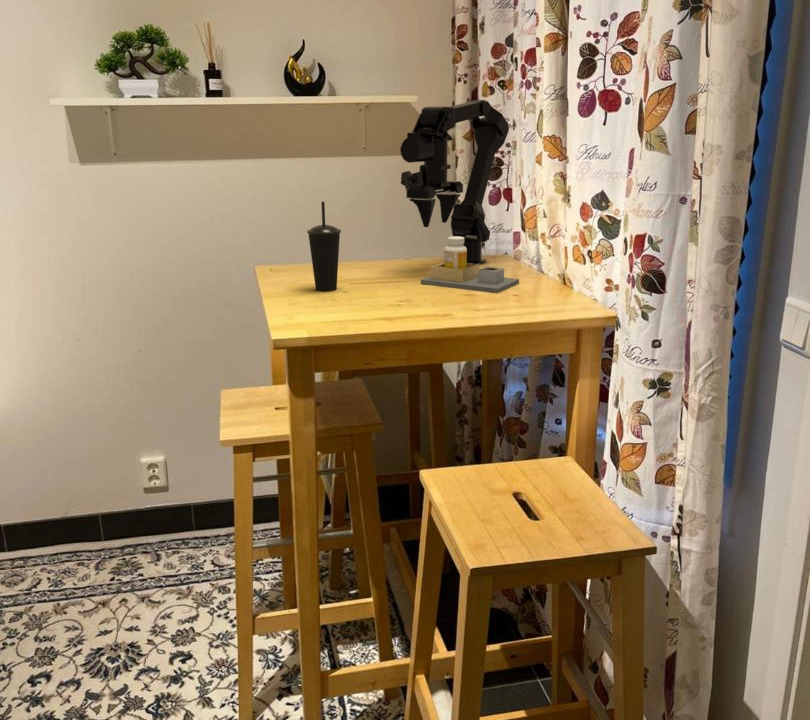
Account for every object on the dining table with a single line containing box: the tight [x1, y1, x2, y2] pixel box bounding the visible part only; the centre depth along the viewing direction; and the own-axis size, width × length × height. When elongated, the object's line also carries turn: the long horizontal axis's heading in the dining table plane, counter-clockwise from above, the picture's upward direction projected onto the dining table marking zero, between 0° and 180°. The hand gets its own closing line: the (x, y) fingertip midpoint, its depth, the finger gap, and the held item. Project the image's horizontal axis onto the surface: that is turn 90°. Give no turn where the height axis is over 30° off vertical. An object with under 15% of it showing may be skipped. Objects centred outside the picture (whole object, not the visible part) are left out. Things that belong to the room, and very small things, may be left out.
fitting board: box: [420, 275, 520, 294], centre depth 187 cm, size 12×20×1 cm, turn 58°
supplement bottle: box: [443, 235, 467, 269], centre depth 187 cm, size 5×5×10 cm
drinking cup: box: [306, 201, 342, 292], centre depth 179 cm, size 8×8×20 cm
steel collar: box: [478, 266, 505, 285], centre depth 184 cm, size 4×4×3 cm
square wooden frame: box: [430, 261, 480, 283], centre depth 188 cm, size 8×8×3 cm
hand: (435, 224), depth 197 cm, fingers open, 9 cm apart
